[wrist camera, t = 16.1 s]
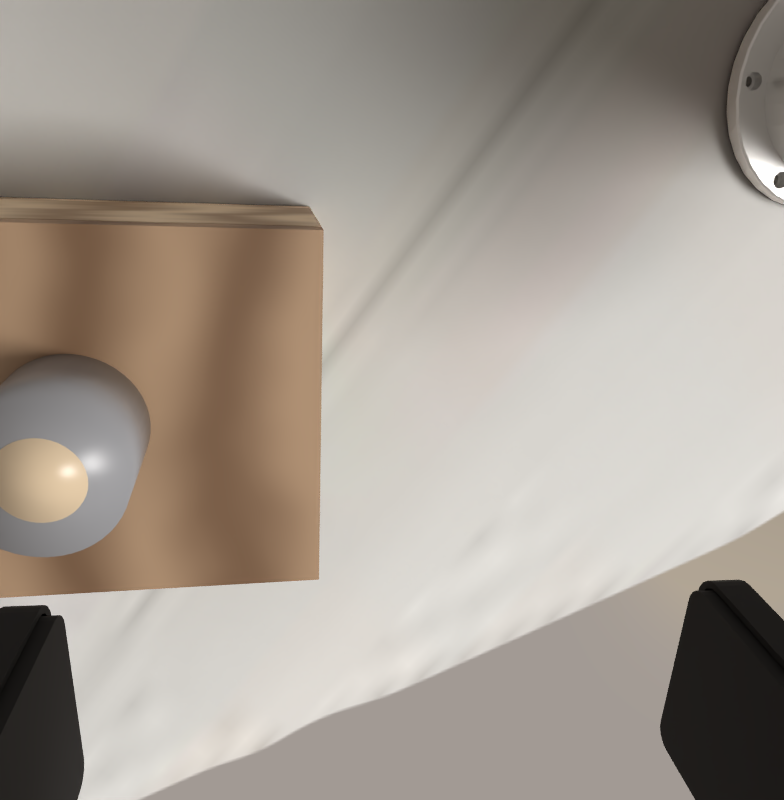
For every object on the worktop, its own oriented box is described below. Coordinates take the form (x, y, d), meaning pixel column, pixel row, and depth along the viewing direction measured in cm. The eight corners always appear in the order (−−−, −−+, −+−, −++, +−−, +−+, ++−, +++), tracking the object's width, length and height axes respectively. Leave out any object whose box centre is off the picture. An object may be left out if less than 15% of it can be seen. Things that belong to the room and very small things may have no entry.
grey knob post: (145, 353, 29) (123, 397, 24) (155, 488, 31) (137, 552, 26) (-19, 354, 28) (-74, 400, 23) (3, 493, 30) (-44, 562, 25)
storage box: (308, 206, 37) (320, 226, 29) (307, 489, 42) (317, 566, 35) (-130, 193, 33) (-241, 211, 26) (-70, 503, 39) (-147, 592, 31)
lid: (321, 226, 29) (323, 230, 28) (317, 567, 35) (318, 579, 34) (-244, 212, 26) (-263, 215, 25) (-148, 592, 31) (-161, 607, 30)
